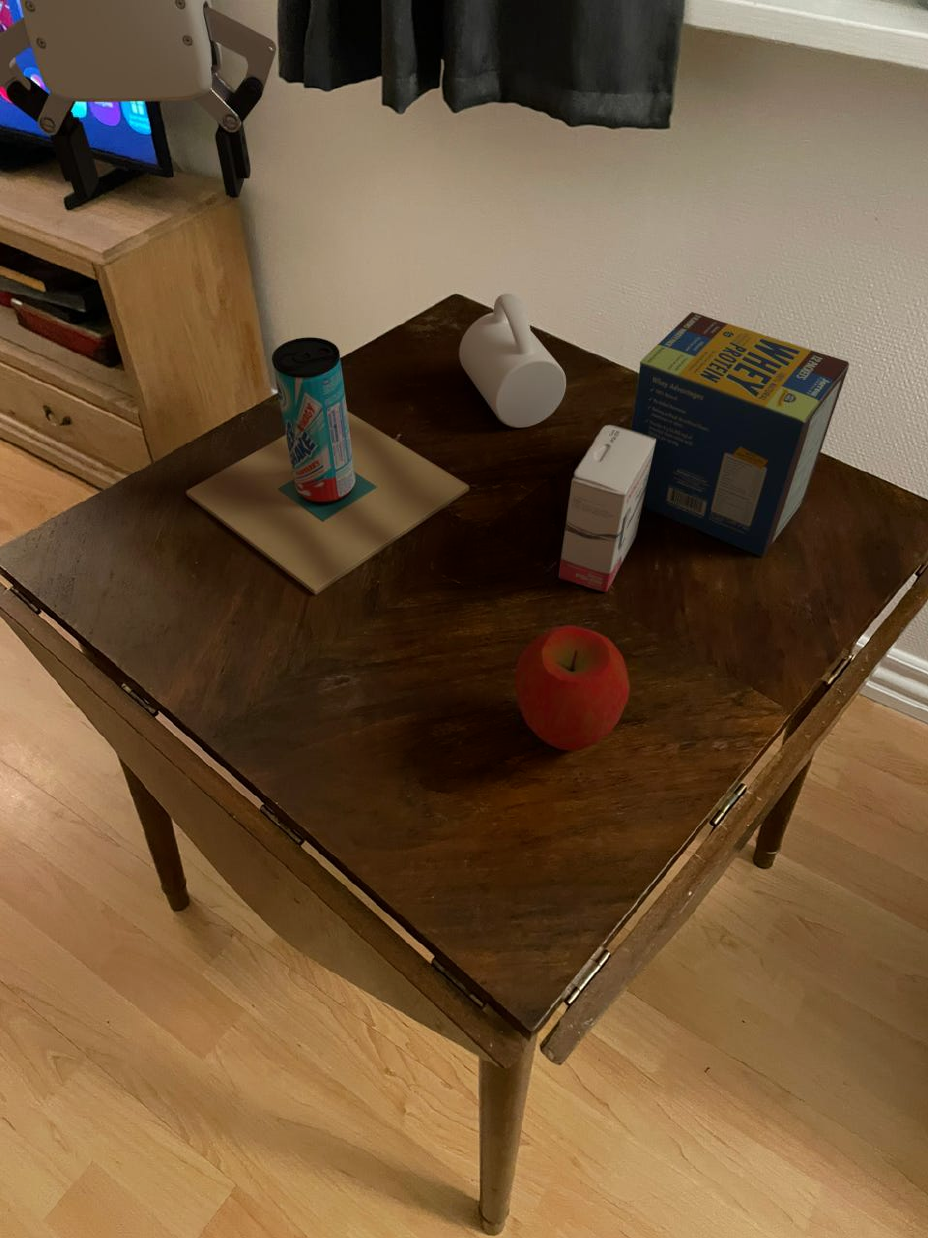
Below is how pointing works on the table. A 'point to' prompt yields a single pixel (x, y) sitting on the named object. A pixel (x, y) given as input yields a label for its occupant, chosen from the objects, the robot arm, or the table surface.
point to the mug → (512, 365)
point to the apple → (571, 686)
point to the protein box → (733, 428)
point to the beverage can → (315, 418)
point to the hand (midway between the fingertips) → (162, 190)
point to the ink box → (605, 506)
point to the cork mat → (328, 505)
